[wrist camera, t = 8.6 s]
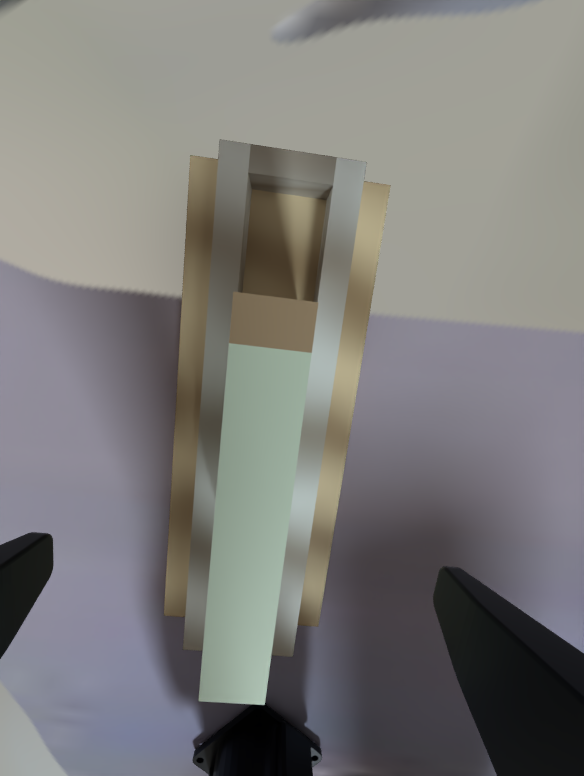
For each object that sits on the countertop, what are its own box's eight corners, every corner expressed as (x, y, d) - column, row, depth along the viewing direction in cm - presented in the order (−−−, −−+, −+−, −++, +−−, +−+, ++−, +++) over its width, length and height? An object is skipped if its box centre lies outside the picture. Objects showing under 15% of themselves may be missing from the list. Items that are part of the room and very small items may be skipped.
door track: (315, 606, 23) (322, 658, 19) (171, 595, 22) (151, 647, 19) (381, 195, 18) (405, 168, 14) (197, 168, 17) (177, 132, 14)
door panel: (270, 528, 20) (264, 705, 11) (234, 525, 20) (198, 701, 11) (298, 306, 17) (318, 302, 8) (256, 301, 17) (233, 291, 8)
